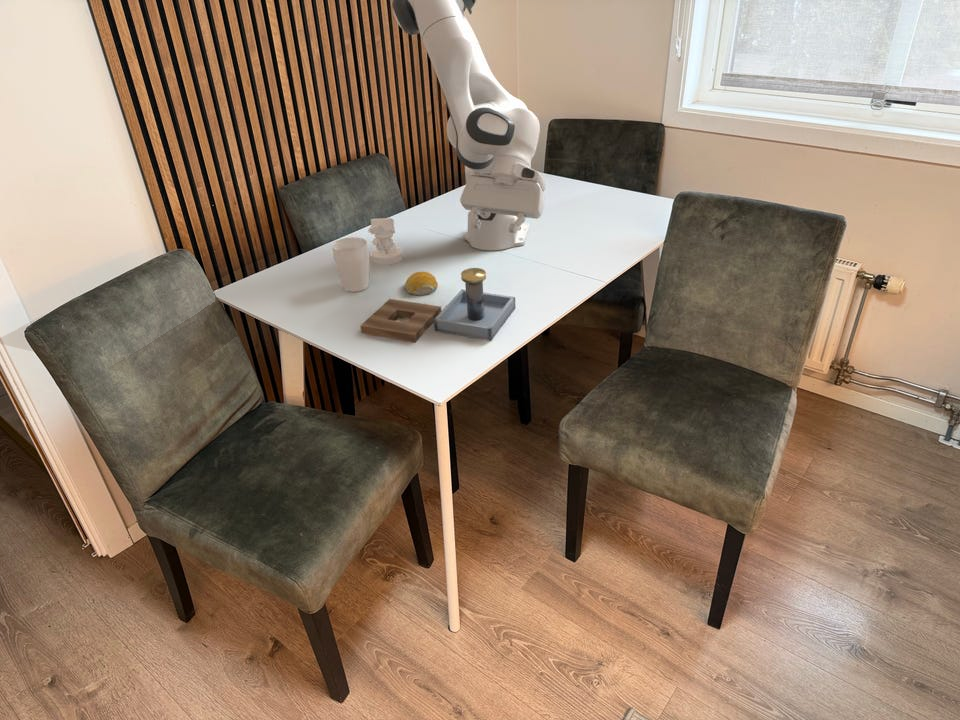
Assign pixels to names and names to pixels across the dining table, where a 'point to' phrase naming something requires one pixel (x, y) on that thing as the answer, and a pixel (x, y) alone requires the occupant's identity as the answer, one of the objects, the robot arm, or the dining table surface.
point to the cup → (352, 263)
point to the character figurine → (384, 242)
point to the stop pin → (474, 292)
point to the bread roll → (421, 283)
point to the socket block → (406, 331)
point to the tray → (458, 323)
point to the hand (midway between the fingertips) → (493, 229)
